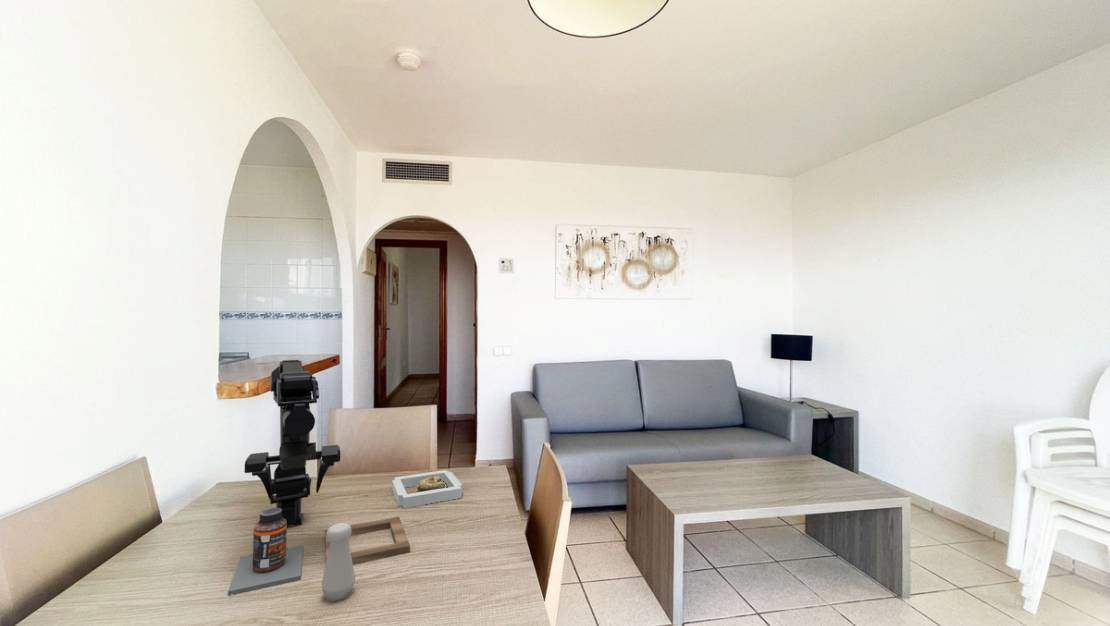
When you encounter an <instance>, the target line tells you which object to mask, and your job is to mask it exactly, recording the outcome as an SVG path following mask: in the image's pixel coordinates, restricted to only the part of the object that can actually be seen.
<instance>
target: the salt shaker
mask: <svg viewBox="0 0 1110 626" xmlns="http://www.w3.org/2000/svg"><path fill="white" fill-rule="evenodd" d="M350 525H351V524H349V523H346V522H340V523H339V522H338V523H335V524H332V525H331V526H329V528H327V529H328V530H327V529H326V530H327V541H329V542H330V546H329V551H328V556H327V561H326V560H325V564H324V565H325V567H324V571H323V576H322V581H321V590H322V593H323V595H324V597H325V599H326V600H329V601H332V602H336V601H340V600H343V599H346V597H347V596H349V594H350V593H351V592H352V589H353V587H354V585H355V581H356V576H355V571H354V570H355V569H354V564H352V558H351V548H350V543H349V538H351V536H352V535H351V526H350Z"/></svg>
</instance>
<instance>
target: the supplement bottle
mask: <svg viewBox="0 0 1110 626" xmlns="http://www.w3.org/2000/svg"><path fill="white" fill-rule="evenodd" d="M287 528H288V527H287V521H286V519H284V518H283V517H282V509H281V508H276V507H270V508H267V509H263V510H262V511H261V512H260V513H259V521H258V522H257V523H256V524H255V525H254V526H253V540H252V542H253V543H252V545H253V546H252V555H253V562H252V565H253V566H252V567H253V570H255V571H257V572H268V571H272V570H275V569H277V568H279V567H280V566H282V565H283V564H284V563H285V560H286V548H287V537H288V535H287V533H288V532H287V530H288V529H287Z"/></svg>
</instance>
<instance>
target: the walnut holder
mask: <svg viewBox="0 0 1110 626" xmlns="http://www.w3.org/2000/svg"><path fill="white" fill-rule="evenodd" d="M349 525H350V526H351V536H355V535H360V534H367V533H371V532H372V533H373V532H377V531H382V530H386V529H389V530H390V532H391V535H392V539H393V541H394V543H391V544H385V545H379V546H376V547H371V548H365V549H361V550H357V551H350V553H351V558H352V564H353V565H358V564H362V563H366V562H372V561H376V560H380V559H381V560H382V559H385V558H389V557H394V556H398V555H403V554H408V553H410V552H411V545H410V542H409V539H408V537H407V533H406V531H405V528H404V526H403V523H402V521H401V518H400V516H394V517H388V518H383V519H379V520H378V519H377V520H373V521H366V522H361V523H355V524H349ZM328 529H329V528H327V529H325V562H326V561H327V556H328V551H329V546H330V542H329V541H327V530H328Z"/></svg>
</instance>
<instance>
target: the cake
mask: <svg viewBox="0 0 1110 626" xmlns="http://www.w3.org/2000/svg"><path fill="white" fill-rule="evenodd" d="M418 485H419V486H417V491H416V493H417V492H423V491H429V490H436V489H442V488H446V487H447V486H446V484H445V483H444V482H442V481H441V477H436V476H435V477H434V476H433V475H432V477H430V478H427V479H423V480H421V481H420V482H419V484H418Z"/></svg>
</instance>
